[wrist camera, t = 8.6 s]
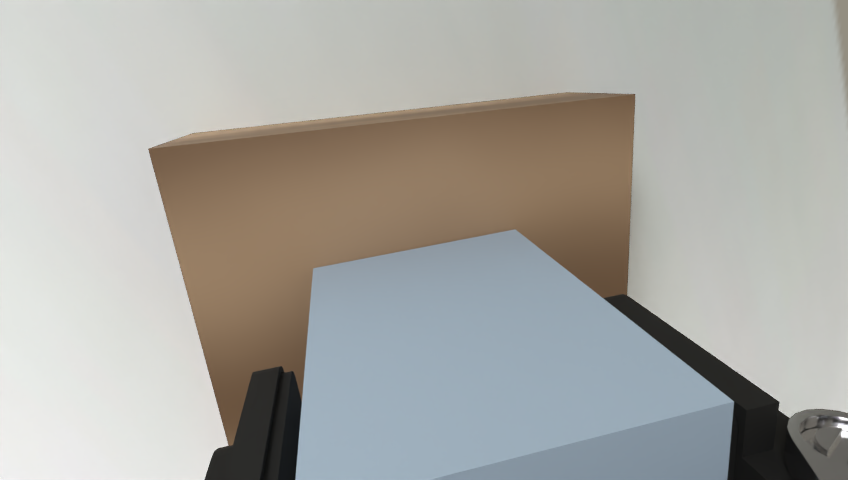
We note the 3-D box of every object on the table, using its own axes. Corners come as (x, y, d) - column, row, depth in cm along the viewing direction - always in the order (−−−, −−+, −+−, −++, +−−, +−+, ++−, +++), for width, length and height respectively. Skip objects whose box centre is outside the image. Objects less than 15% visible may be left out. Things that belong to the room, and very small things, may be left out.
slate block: (313, 268, 11) (292, 515, 5) (515, 229, 12) (733, 401, 6) (352, 439, 13) (375, 794, 7) (528, 396, 14) (709, 681, 7)
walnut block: (196, 132, 14) (148, 149, 10) (560, 92, 15) (634, 94, 12) (271, 446, 17) (256, 546, 14) (562, 387, 19) (620, 461, 15)
